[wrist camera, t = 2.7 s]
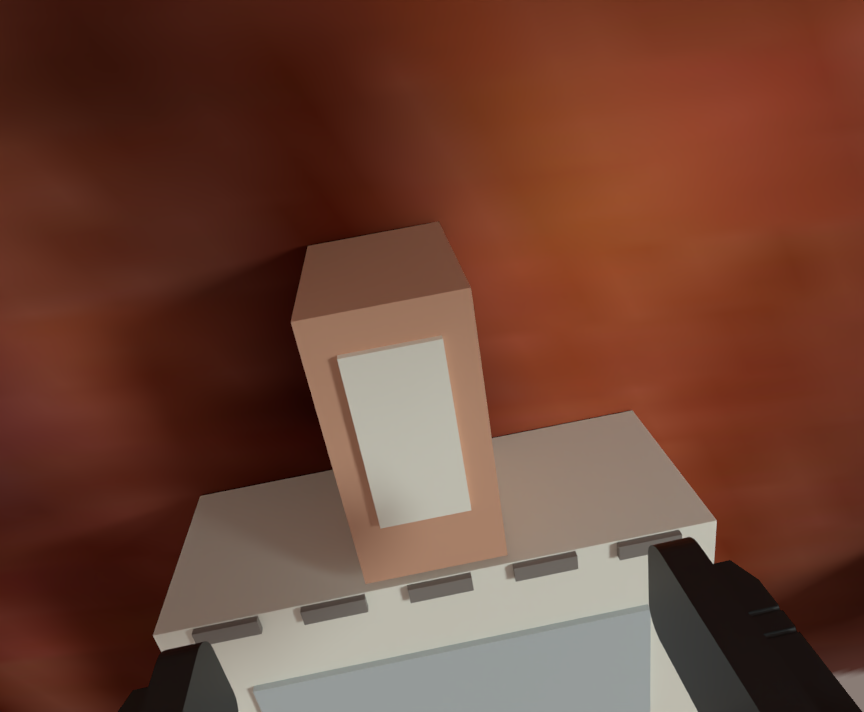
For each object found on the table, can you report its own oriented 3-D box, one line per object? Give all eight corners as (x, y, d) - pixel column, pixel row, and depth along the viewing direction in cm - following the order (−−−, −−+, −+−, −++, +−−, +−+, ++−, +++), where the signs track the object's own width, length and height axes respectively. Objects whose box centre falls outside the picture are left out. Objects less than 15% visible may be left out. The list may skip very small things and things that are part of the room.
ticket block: (200, 496, 23) (150, 641, 17) (632, 410, 23) (720, 525, 18) (268, 660, 27) (246, 821, 21) (634, 584, 27) (706, 722, 22)
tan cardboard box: (307, 246, 19) (289, 325, 13) (438, 221, 19) (472, 290, 14) (362, 460, 22) (365, 589, 17) (472, 438, 23) (509, 560, 17)
